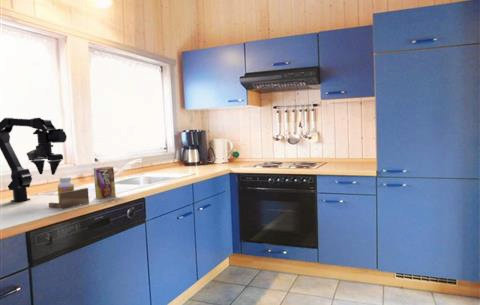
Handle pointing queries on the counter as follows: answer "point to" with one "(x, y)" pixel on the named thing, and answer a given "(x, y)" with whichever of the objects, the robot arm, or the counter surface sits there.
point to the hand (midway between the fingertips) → (47, 174)
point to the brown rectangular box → (71, 199)
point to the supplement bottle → (65, 185)
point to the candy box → (104, 182)
